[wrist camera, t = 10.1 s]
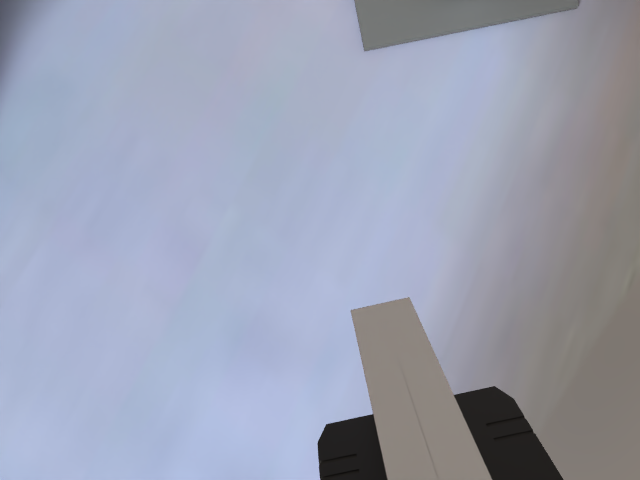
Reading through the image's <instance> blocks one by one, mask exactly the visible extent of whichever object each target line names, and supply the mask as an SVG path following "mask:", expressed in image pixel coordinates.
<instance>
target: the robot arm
mask: <svg viewBox="0 0 640 480" xmlns="http://www.w3.org/2000/svg"><path fill="white" fill-rule="evenodd" d="M351 314H352V319H353V323H354V328H355V332H356V337H357V342H358V346H359V351H360V355H361V360H362V365H363V369H364V374H365V378H366V383H367V387H368V392H369V397H370V401H371V406H372V410H373V414H372V415H367V416H363V417H358V418H353V419H349V420H344V421H340V422H335V423H330V424H326V426H325V428H324V430H323V432H322V435H321V437H320V439H319V441H318V456H319V471H320V480H563V478H562V477H561V475H560V473H559V472H558V470H557V469H556V467H555V465H554V464H553V462H552V460H551V459H550V457H549V456H548V454H547V452H546V451H545V449H544V447H543V446H542V444H541V443H540V441H539V439H538V438H537V436H536V434H535V433H533V429H532V428H531V426H530V425H529V423H528V421H527V420H526V419H525V418H524V415H523V413H522V412H521V410H520V408H519V407H518V405H517V403H516V402H515V400H514V399H513V398H512V397H510V396H509V395H507V394H506V393H504V392H503V391H501V390H500V389H498V388H496V387H495V386H493V387H489V388H484V389H480V390H475V391H470V392H466V393H461V394H456V395H453V392H452V390H451V388H450V386H449V384H448V381H447V379H446V377H445V375H444V373H443V370H442V368H441V366H440V364H439V362H438V359H437V357H436V355H435V353H434V351H433V348H432V346H431V344H430V342H429V340H428V337H427V335H426V333H425V331H424V329H423V326H422V324H421V322H420V320H419V318H418V315H417V313H416V311H415V309H414V307H413V304H412V302H411V300H410V298H409V297H408V298H404V299H399V300H395V301H390V302H386V303H381V304H377V305H372V306H368V307H363V308H358V309H354V310H351Z"/></svg>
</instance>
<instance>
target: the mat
mask: <svg viewBox="0 0 640 480" xmlns="http://www.w3.org/2000/svg"><path fill="white" fill-rule="evenodd" d="M354 1H355V6H356V11H357V16H358V21H359V26H360V31H361V37H362V42H363V47H364V51H369V50H374V49H378V48H383V47H388V46H393V45H398V44H403V43H408V42H413V41H418V40H423V39H428V38H433V37H438V36H443V35H448V34H453V33H458V32H462V31H467V30H472V29H477V28H482V27H487V26H492V25H497V24H502V23H507V22H512V21H517V20H522V19H527V18H532V17H537V16H541V15H546V14H551V13H556V12H561V11H566V10H571V9H576V8H577V7H578V6H579V3H578V0H354Z"/></svg>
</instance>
